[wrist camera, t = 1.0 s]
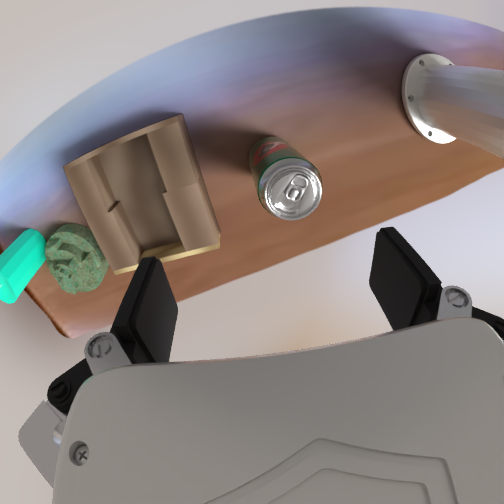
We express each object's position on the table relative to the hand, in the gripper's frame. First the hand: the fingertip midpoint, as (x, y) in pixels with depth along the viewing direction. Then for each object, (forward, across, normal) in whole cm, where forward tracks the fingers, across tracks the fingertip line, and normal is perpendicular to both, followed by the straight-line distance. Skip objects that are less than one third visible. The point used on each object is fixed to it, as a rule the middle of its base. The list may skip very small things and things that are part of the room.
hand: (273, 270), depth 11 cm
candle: (+21, +34, +6) cm, 41 cm away
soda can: (+22, -2, +1) cm, 22 cm away
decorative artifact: (+21, +26, +9) cm, 35 cm away
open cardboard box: (+21, +12, +2) cm, 25 cm away
